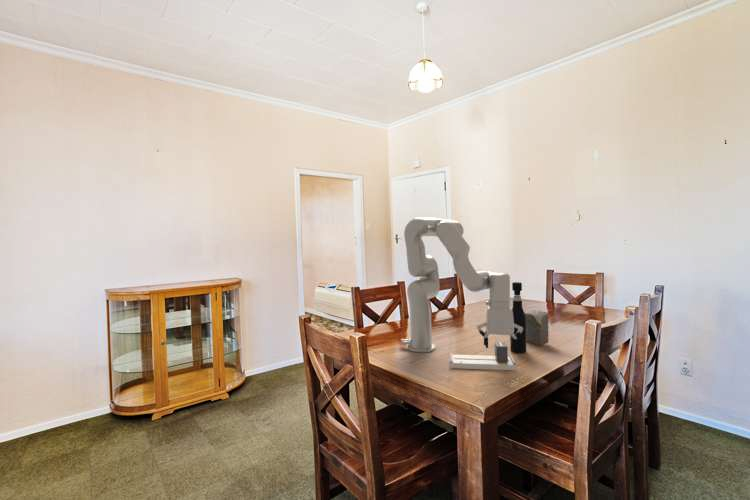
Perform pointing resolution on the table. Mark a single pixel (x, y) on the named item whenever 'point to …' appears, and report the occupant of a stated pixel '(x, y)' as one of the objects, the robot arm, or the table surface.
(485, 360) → the fader panel
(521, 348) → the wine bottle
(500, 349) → the fader knob
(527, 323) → the geological specimen
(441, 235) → the robot arm
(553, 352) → the table surface
